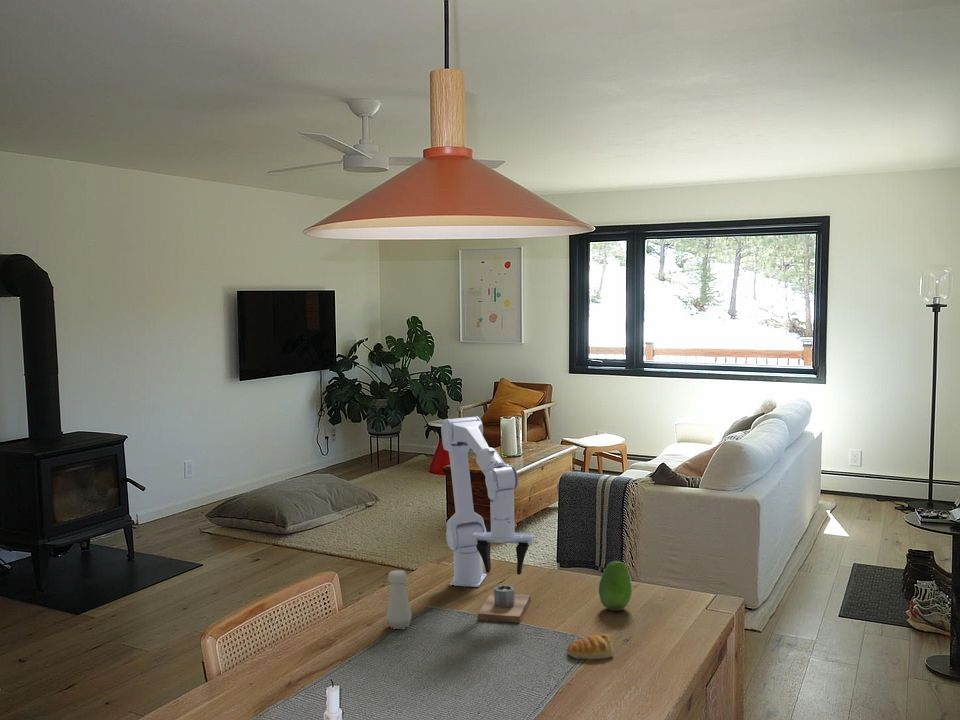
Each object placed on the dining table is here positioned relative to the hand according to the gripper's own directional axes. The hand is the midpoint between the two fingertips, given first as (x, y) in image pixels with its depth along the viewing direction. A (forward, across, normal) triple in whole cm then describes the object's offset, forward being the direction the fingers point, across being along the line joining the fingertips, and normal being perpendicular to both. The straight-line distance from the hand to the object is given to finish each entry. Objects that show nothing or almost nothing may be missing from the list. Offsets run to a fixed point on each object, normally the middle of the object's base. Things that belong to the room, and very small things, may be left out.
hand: (503, 572), depth 198 cm
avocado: (+10, +26, +5) cm, 28 cm away
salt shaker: (+10, -22, -14) cm, 28 cm away
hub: (+8, 0, 0) cm, 8 cm away
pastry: (+10, +23, -21) cm, 33 cm away
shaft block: (+9, 0, 0) cm, 9 cm away
